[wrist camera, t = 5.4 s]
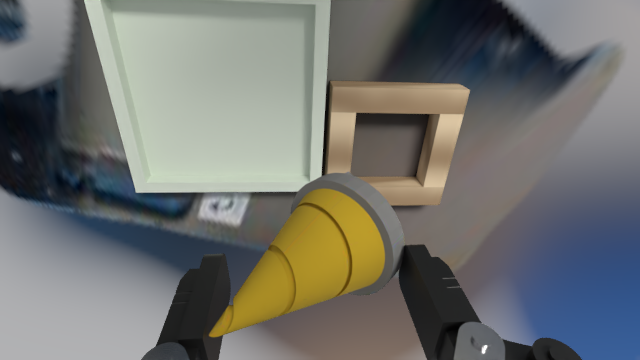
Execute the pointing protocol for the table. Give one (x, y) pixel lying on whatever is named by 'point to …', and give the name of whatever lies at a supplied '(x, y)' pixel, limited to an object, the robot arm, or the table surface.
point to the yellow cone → (321, 252)
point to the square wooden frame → (398, 98)
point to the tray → (216, 90)
